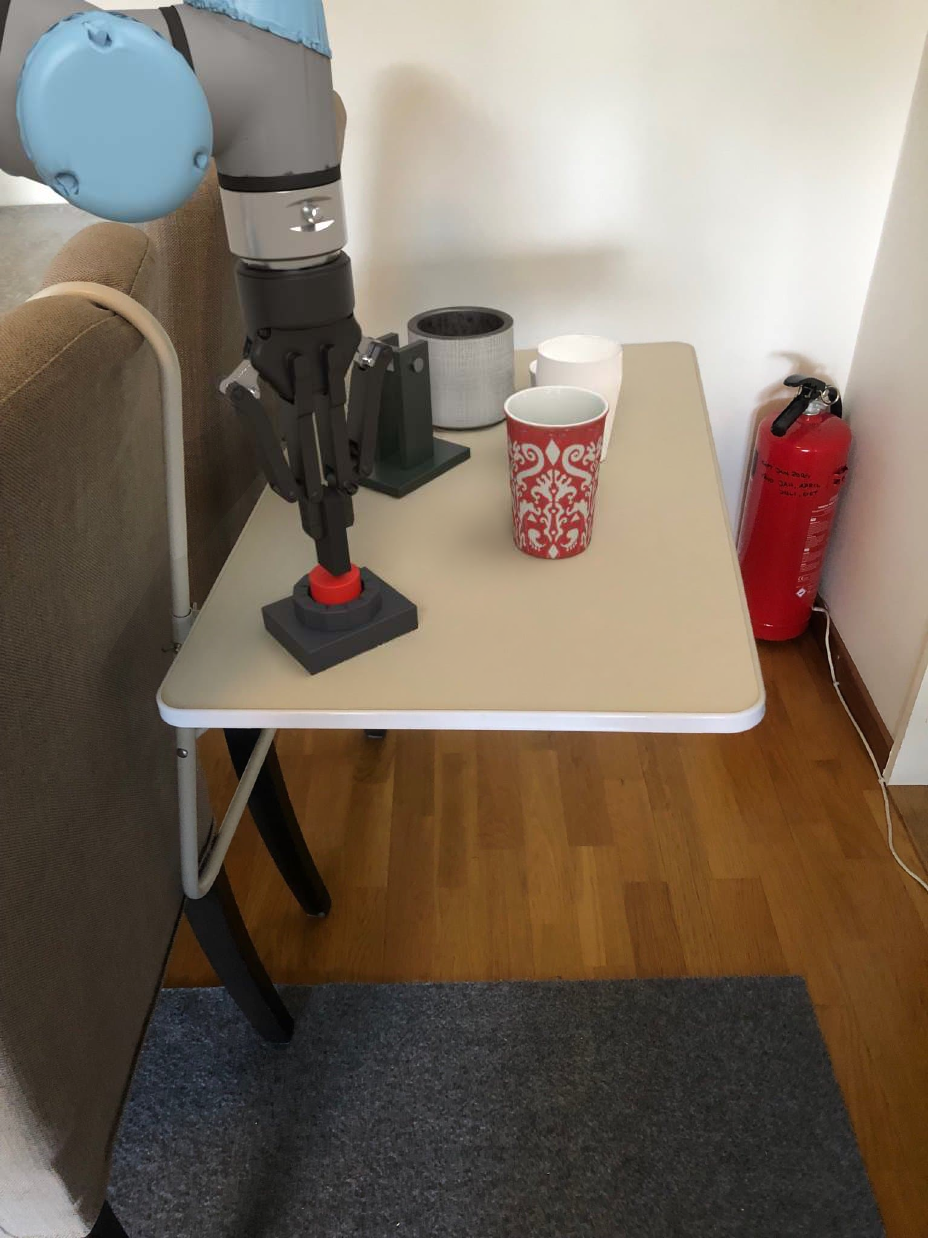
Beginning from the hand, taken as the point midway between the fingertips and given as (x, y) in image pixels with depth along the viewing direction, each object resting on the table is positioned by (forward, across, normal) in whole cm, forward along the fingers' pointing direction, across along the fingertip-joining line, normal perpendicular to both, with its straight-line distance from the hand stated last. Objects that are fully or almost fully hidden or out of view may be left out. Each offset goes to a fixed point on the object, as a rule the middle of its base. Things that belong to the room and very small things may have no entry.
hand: (334, 566), depth 72 cm
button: (+2, 0, 0) cm, 2 cm away
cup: (+6, +37, +12) cm, 39 cm away
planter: (+6, +35, +30) cm, 46 cm away
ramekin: (+6, +47, +25) cm, 54 cm away
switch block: (+6, 0, 0) cm, 6 cm away
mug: (+6, +24, +1) cm, 25 cm away
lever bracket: (+6, +21, +22) cm, 31 cm away
